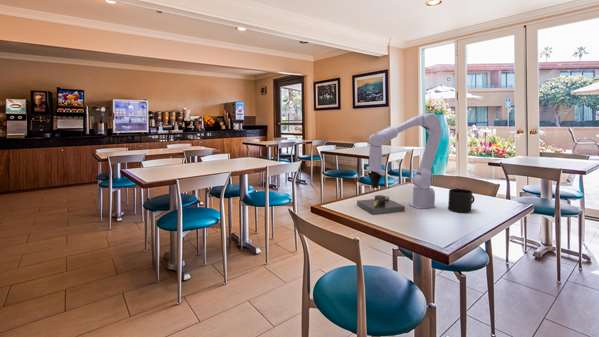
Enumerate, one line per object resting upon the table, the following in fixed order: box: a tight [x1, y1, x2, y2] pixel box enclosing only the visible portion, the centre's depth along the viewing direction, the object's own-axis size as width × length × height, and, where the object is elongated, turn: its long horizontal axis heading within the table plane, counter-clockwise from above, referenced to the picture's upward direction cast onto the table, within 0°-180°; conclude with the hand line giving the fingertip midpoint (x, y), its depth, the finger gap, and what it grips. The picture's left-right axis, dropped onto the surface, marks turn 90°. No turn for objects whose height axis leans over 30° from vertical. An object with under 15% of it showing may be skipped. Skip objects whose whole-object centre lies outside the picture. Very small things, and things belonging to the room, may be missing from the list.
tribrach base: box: [356, 196, 406, 215], centre depth 151 cm, size 16×16×4 cm
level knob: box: [374, 194, 386, 206], centre depth 148 cm, size 10×5×3 cm, turn 149°
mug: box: [448, 188, 475, 214], centre depth 146 cm, size 9×12×9 cm
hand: (375, 187), depth 153 cm, fingers closed
